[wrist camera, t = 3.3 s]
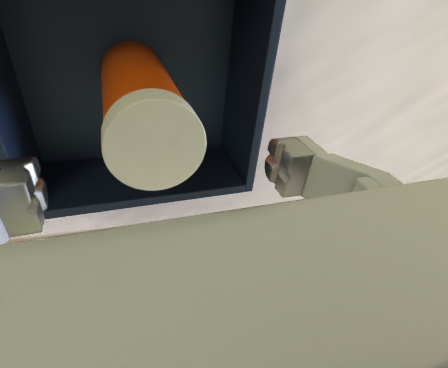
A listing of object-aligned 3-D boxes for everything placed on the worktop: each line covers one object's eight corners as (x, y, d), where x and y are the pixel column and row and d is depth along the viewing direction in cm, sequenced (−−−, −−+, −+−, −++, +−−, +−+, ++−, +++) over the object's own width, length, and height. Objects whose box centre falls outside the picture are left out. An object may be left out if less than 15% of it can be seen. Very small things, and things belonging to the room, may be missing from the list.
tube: (103, 104, 20) (108, 197, 12) (94, 37, 18) (93, 100, 10) (164, 102, 21) (204, 185, 13) (163, 40, 19) (209, 97, 11)
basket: (35, 167, 21) (19, 223, 17) (-44, -79, 14) (-112, -98, 9) (225, 150, 26) (252, 191, 21) (245, -43, 18) (294, -42, 14)
